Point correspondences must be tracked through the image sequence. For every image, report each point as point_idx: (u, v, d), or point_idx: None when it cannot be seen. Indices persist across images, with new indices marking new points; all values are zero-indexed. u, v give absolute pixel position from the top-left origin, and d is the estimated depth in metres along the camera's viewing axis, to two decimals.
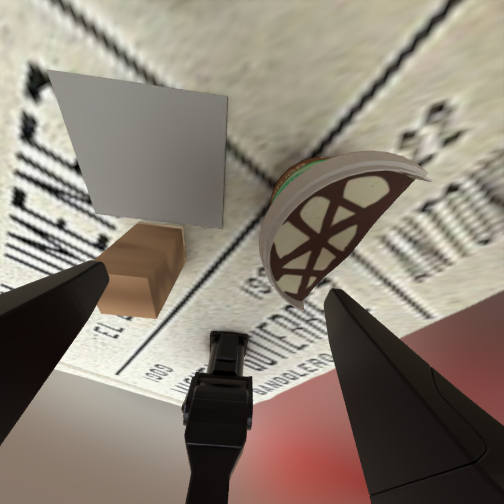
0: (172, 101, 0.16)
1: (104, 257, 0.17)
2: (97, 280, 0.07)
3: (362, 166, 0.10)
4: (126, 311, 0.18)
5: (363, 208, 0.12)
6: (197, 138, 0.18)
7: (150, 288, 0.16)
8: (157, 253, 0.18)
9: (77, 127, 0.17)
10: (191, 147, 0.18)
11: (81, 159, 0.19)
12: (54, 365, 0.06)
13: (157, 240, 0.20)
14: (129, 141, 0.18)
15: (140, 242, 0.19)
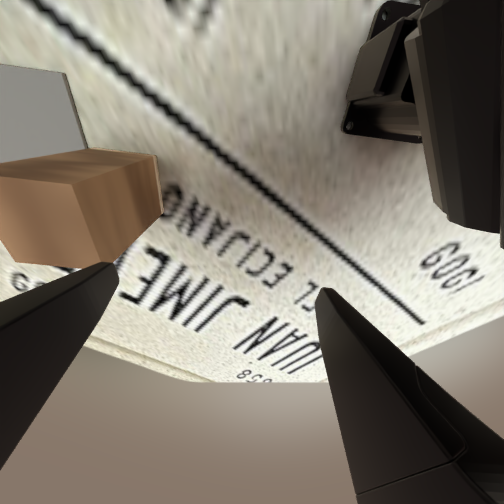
0: None
1: None
2: (108, 281, 0.07)
3: None
4: (77, 233, 0.10)
5: None
6: None
7: None
8: None
9: None
10: None
11: None
12: (66, 367, 0.06)
13: None
14: None
15: None
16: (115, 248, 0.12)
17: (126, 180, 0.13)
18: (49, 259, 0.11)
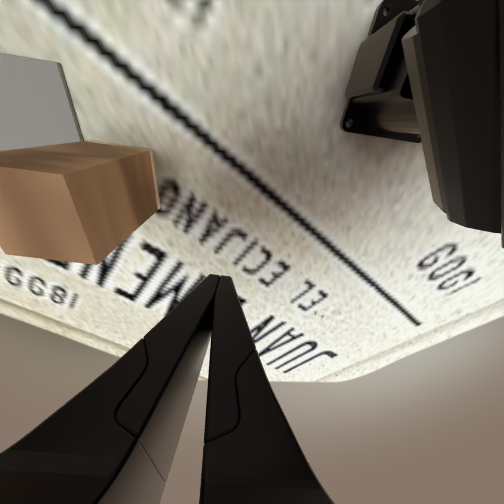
0: None
1: None
2: None
3: None
4: (69, 225, 0.10)
5: None
6: None
7: None
8: None
9: None
10: None
11: None
12: (197, 378, 0.06)
13: None
14: None
15: None
16: (109, 242, 0.12)
17: (121, 173, 0.13)
18: (40, 252, 0.11)
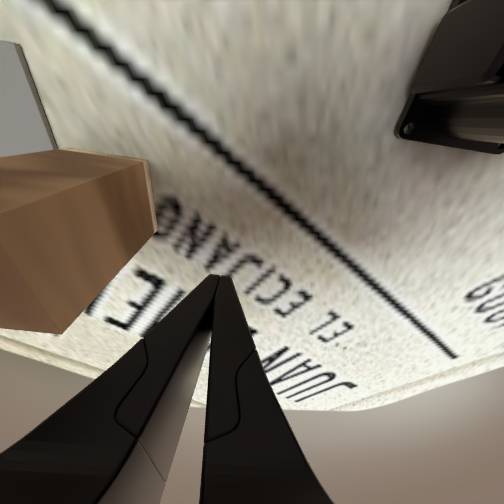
0: None
1: None
2: None
3: None
4: (12, 288, 0.07)
5: None
6: None
7: None
8: None
9: None
10: None
11: None
12: (197, 378, 0.06)
13: None
14: None
15: None
16: (82, 296, 0.09)
17: (100, 198, 0.09)
18: None
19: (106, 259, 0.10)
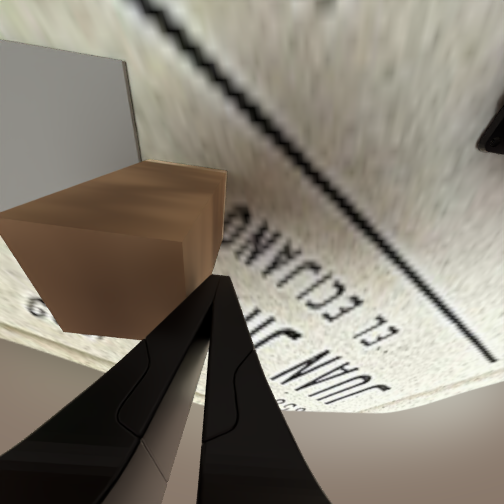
0: None
1: None
2: None
3: None
4: (167, 303, 0.07)
5: None
6: None
7: (44, 220, 0.05)
8: None
9: None
10: None
11: None
12: (198, 378, 0.06)
13: None
14: None
15: None
16: None
17: (211, 212, 0.09)
18: (114, 330, 0.08)
19: (207, 270, 0.10)
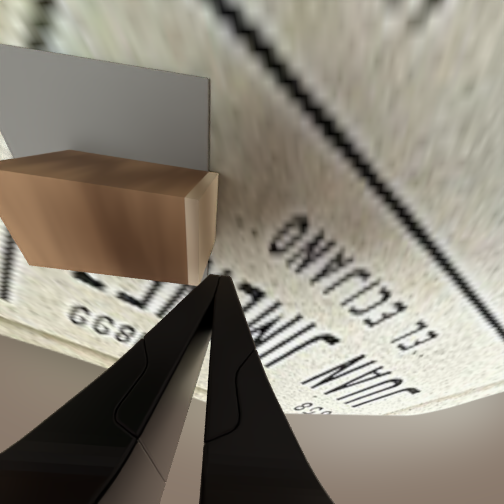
0: (21, 144, 0.12)
1: None
2: None
3: None
4: None
5: None
6: (48, 111, 0.11)
7: (54, 153, 0.11)
8: None
9: None
10: (68, 124, 0.11)
11: None
12: (197, 378, 0.06)
13: None
14: None
15: None
16: (51, 258, 0.10)
17: (84, 201, 0.09)
18: None
19: (86, 253, 0.10)
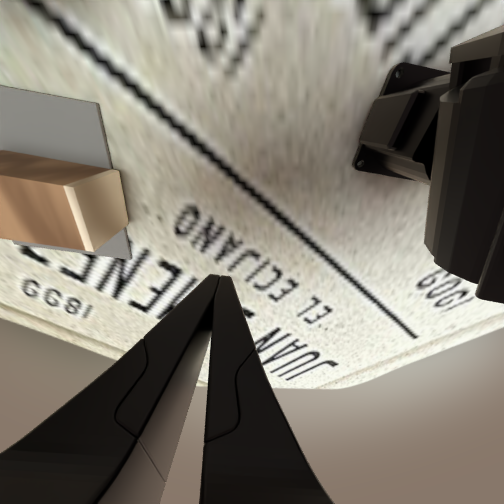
0: None
1: None
2: None
3: None
4: None
5: None
6: None
7: None
8: None
9: None
10: None
11: (76, 249, 0.21)
12: (197, 378, 0.06)
13: None
14: None
15: None
16: None
17: None
18: None
19: (6, 225, 0.14)
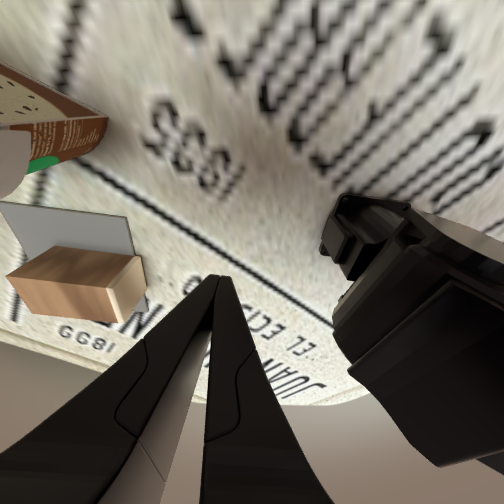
0: (27, 243, 0.21)
1: None
2: None
3: None
4: None
5: None
6: (42, 229, 0.20)
7: (45, 252, 0.20)
8: None
9: None
10: (53, 235, 0.21)
11: None
12: (197, 378, 0.06)
13: None
14: None
15: None
16: (44, 310, 0.20)
17: (58, 288, 0.18)
18: None
19: (62, 309, 0.19)
